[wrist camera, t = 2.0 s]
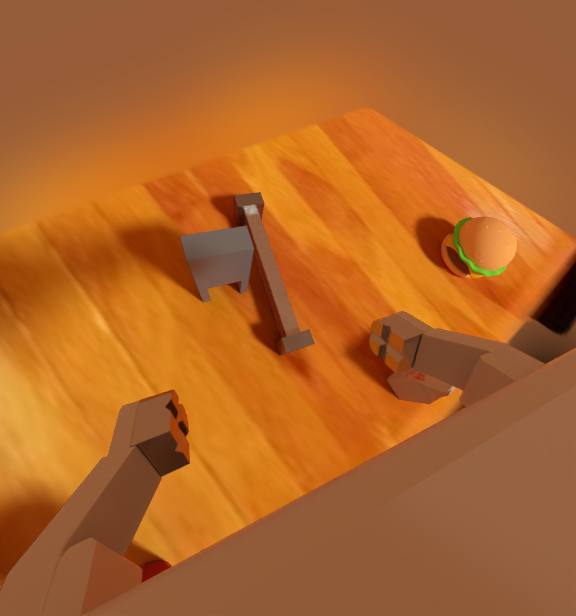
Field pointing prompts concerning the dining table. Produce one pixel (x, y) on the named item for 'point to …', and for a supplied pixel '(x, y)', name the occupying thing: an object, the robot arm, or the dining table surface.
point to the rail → (270, 274)
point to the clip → (219, 258)
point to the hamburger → (479, 247)
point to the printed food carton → (418, 386)
